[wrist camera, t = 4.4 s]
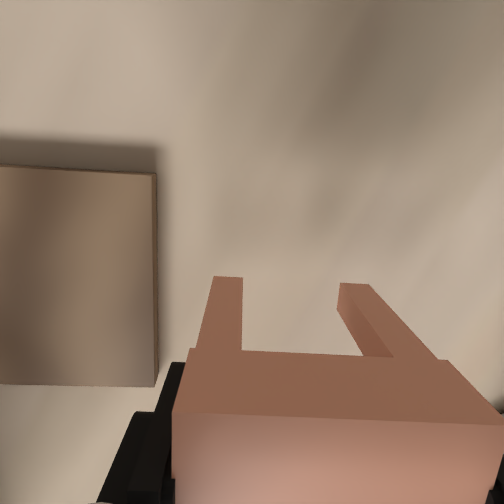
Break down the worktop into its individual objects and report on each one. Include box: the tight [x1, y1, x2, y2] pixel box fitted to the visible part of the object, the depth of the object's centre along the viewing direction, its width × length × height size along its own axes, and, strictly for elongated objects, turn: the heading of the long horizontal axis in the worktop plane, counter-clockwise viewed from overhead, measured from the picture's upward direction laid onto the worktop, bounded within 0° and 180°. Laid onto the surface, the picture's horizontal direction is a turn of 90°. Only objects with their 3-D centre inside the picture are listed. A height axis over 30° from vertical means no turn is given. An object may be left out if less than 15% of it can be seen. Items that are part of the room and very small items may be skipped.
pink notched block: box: [171, 276, 504, 504], centre depth 10 cm, size 6×6×7 cm
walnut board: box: [0, 164, 158, 387], centre depth 16 cm, size 10×10×1 cm
